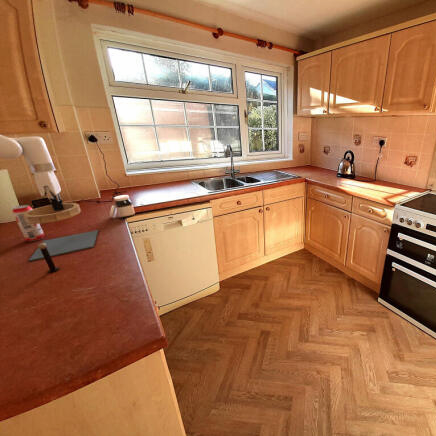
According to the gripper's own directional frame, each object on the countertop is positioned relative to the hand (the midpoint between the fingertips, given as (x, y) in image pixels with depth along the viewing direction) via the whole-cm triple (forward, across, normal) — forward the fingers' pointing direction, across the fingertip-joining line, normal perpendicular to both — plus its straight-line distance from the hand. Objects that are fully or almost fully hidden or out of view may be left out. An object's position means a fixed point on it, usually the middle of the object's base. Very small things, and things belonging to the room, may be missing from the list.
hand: (59, 209), depth 108 cm
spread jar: (+15, -18, +20) cm, 31 cm away
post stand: (+14, +32, 0) cm, 35 cm away
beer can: (+14, -8, -14) cm, 22 cm away
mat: (+14, +8, 0) cm, 16 cm away
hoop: (+1, +8, 0) cm, 8 cm away
